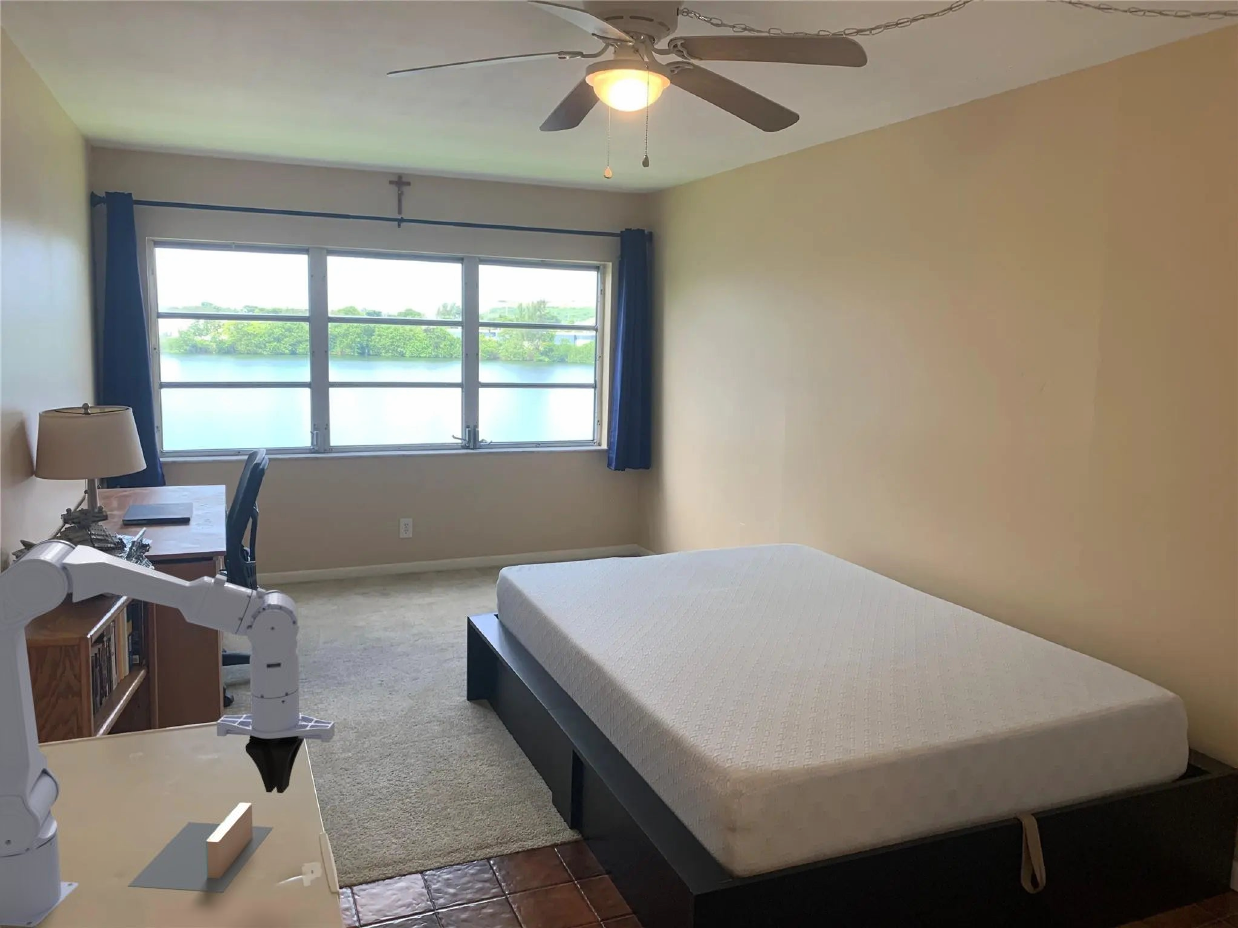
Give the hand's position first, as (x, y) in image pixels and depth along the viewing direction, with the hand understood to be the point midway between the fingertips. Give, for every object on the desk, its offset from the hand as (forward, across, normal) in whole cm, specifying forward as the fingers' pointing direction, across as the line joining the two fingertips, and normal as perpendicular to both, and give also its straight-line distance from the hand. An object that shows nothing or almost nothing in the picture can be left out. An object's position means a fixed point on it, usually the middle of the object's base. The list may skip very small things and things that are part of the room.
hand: (277, 788), depth 111 cm
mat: (+10, +10, 0) cm, 14 cm away
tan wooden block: (+10, +6, 0) cm, 12 cm away
